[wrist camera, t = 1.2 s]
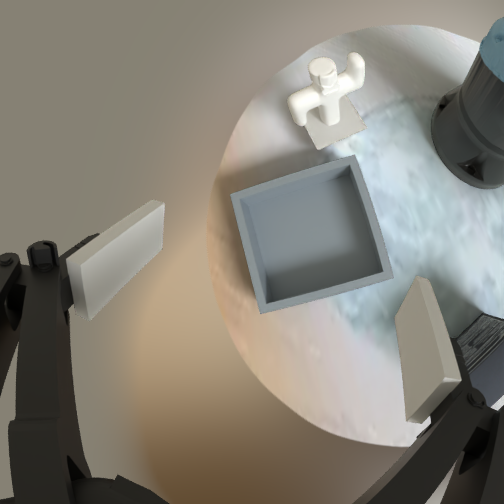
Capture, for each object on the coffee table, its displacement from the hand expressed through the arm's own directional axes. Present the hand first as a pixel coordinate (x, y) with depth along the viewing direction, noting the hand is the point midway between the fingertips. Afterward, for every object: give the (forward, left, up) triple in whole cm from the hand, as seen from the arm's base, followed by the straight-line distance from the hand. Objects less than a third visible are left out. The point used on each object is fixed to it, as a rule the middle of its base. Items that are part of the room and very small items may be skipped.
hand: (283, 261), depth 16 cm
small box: (-17, +17, -27) cm, 36 cm away
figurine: (-7, -18, -26) cm, 33 cm away
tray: (0, -4, -26) cm, 27 cm away
